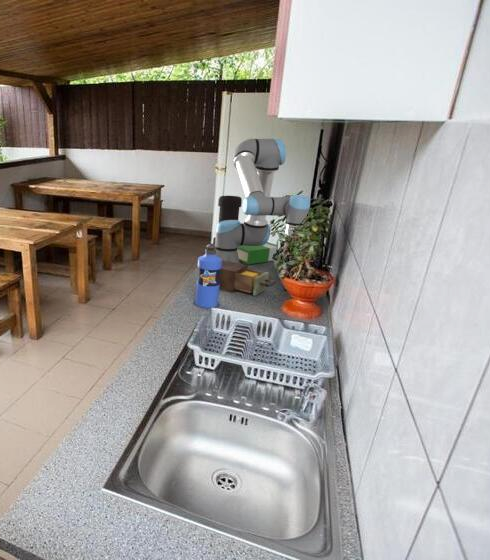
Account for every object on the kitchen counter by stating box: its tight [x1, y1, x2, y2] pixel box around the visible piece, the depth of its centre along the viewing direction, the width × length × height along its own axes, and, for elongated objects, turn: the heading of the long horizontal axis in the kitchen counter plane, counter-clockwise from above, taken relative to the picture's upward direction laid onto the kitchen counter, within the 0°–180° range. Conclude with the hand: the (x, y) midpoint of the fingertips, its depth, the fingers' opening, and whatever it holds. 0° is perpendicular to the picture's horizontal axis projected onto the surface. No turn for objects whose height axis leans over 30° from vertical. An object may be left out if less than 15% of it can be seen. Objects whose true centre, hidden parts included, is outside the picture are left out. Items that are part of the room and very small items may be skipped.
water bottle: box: [194, 243, 222, 309], centre depth 170 cm, size 9×9×25 cm
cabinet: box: [219, 260, 249, 293], centre depth 194 cm, size 15×13×10 cm
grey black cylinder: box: [212, 195, 243, 245], centre depth 263 cm, size 16×16×30 cm
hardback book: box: [237, 241, 278, 265], centre depth 237 cm, size 18×7×24 cm
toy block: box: [241, 271, 258, 289], centre depth 187 cm, size 6×6×6 cm
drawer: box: [234, 267, 276, 297], centre depth 186 cm, size 18×11×8 cm, turn 49°
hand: (286, 290), depth 177 cm, fingers closed
